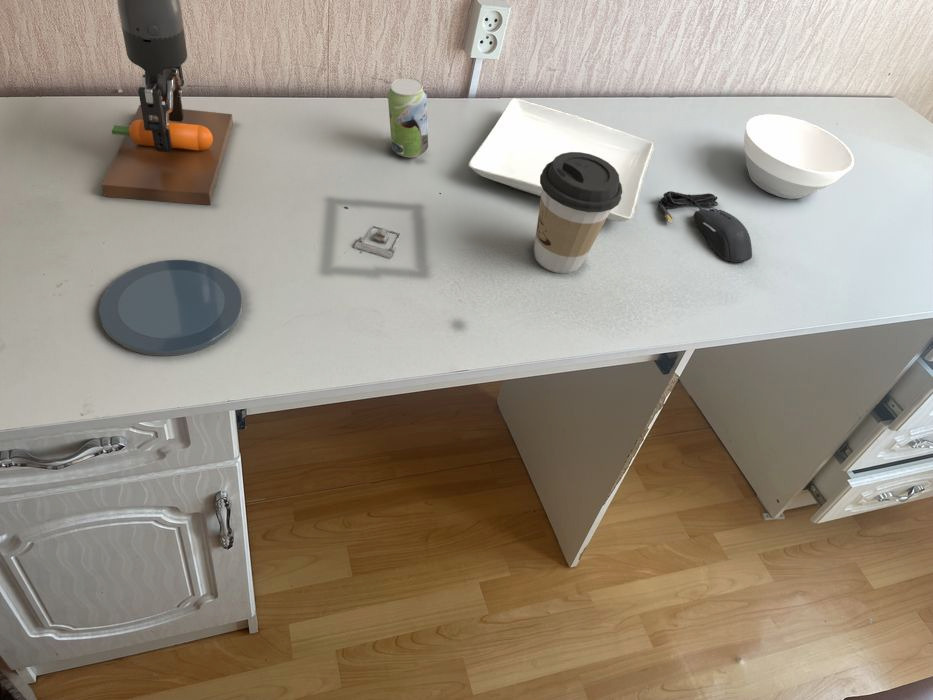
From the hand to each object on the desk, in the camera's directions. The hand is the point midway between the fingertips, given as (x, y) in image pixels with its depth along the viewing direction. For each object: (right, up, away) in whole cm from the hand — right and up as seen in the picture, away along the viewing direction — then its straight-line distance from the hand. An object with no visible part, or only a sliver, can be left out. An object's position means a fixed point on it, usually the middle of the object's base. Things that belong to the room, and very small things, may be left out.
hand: (170, 134), depth 103 cm
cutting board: (-1, -3, +3) cm, 4 cm away
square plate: (+60, -1, +18) cm, 63 cm away
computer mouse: (+82, -12, +12) cm, 83 cm away
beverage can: (+33, +1, +14) cm, 36 cm away
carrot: (-1, -1, +1) cm, 2 cm away
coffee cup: (+57, -18, +1) cm, 60 cm away
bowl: (+101, -1, +27) cm, 105 cm away
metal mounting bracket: (+33, -19, -5) cm, 38 cm away
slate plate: (+8, -26, -18) cm, 33 cm away
